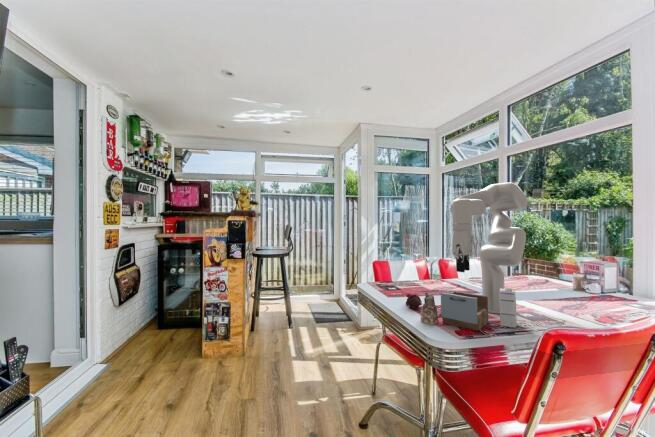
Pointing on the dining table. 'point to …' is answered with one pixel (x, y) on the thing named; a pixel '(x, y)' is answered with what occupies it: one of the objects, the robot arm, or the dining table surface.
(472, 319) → the panel
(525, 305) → the dining table surface
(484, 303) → the brown wooden box
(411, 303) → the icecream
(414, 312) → the dining table surface
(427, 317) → the figurine
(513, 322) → the syrup box
